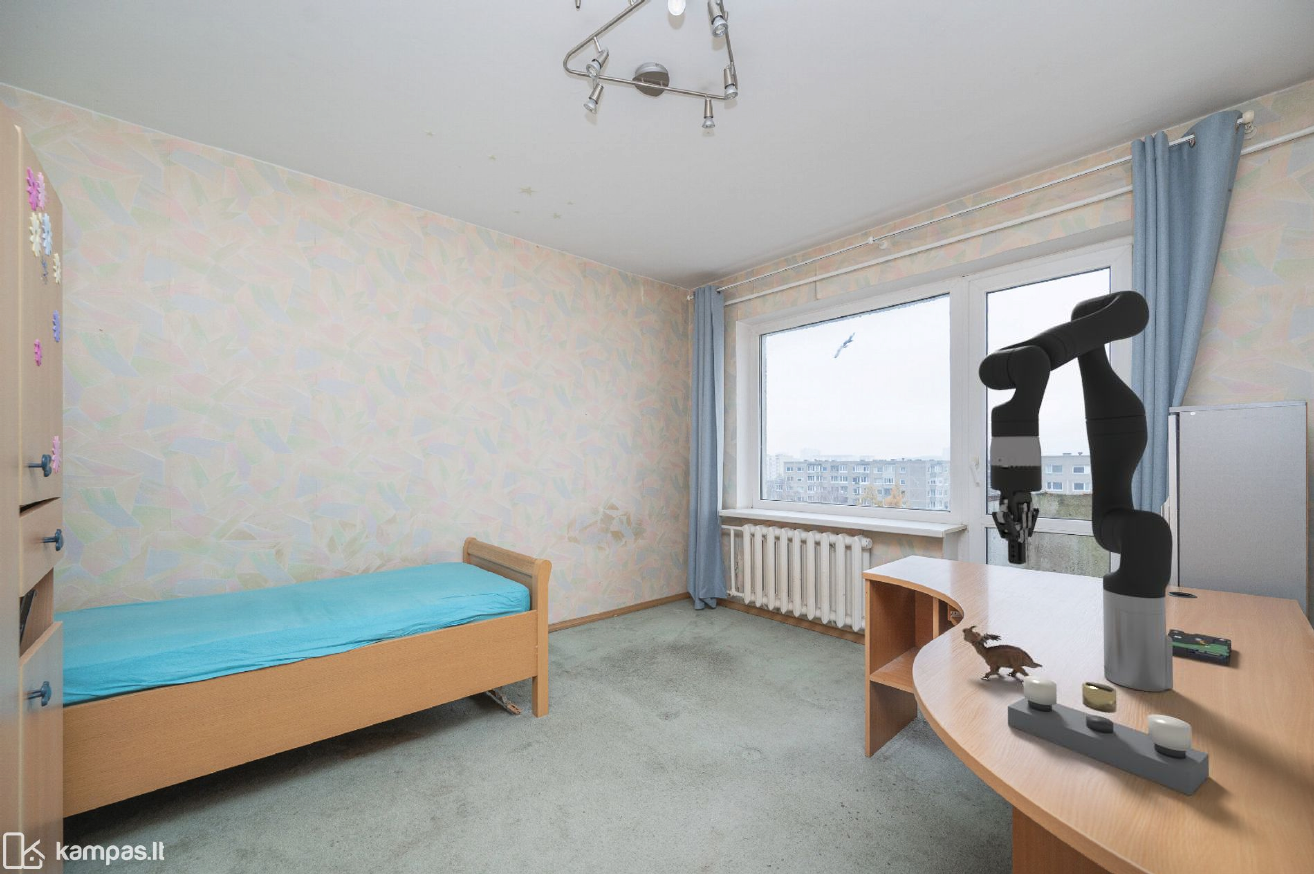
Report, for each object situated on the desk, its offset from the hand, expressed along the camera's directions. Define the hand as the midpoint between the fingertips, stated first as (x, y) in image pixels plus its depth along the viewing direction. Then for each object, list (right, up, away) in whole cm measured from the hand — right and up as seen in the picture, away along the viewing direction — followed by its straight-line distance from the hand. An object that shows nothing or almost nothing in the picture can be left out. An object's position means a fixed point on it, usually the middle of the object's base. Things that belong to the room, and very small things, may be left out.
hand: (1016, 563), depth 96 cm
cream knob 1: (0, -21, -6) cm, 21 cm away
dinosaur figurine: (+6, -26, +13) cm, 29 cm away
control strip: (+4, -25, -13) cm, 28 cm away
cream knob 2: (+9, -20, -19) cm, 29 cm away
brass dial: (+4, -19, -13) cm, 23 cm away
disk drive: (+58, -27, +28) cm, 70 cm away
